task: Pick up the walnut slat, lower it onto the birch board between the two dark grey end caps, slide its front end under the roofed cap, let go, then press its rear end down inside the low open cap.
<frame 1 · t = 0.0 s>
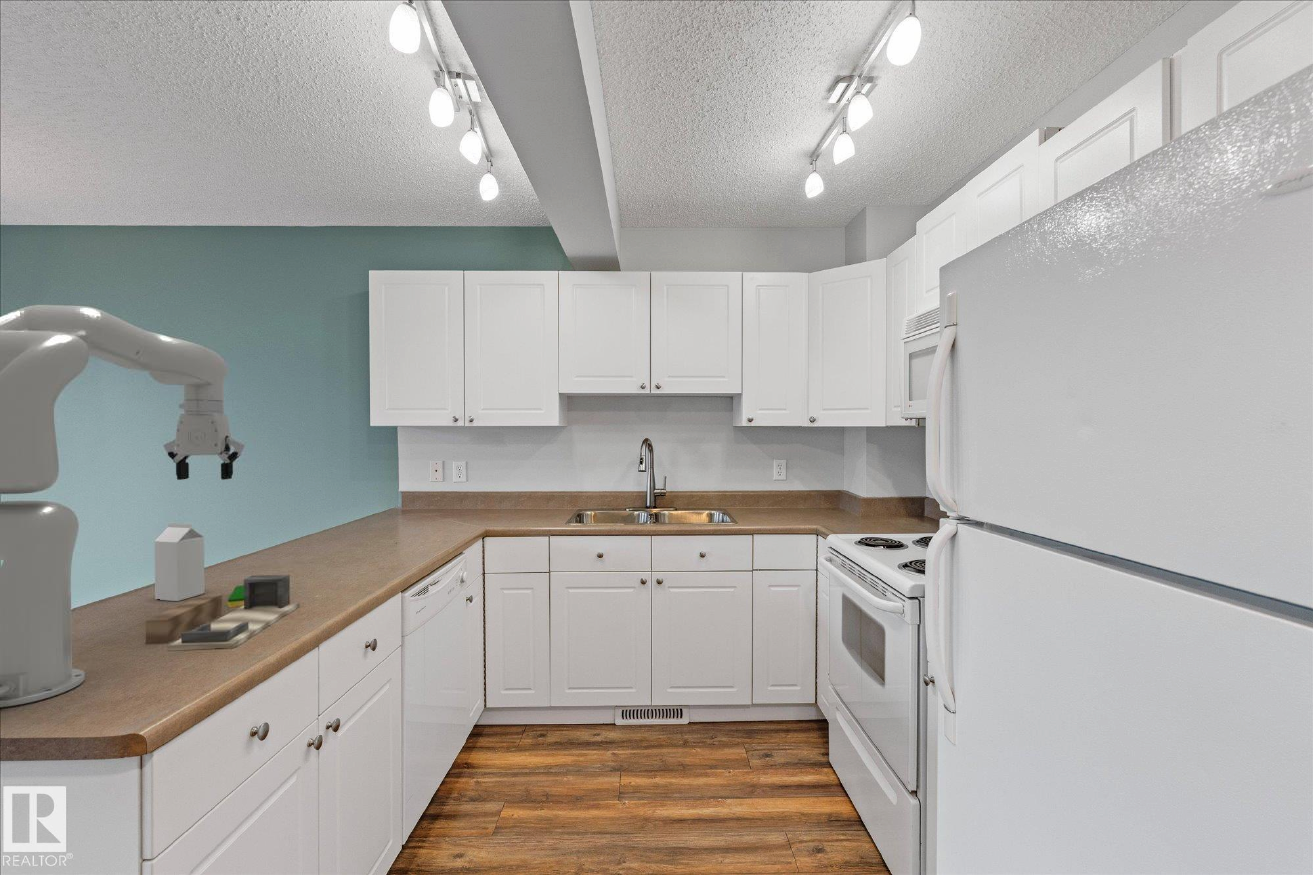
hand: (204, 479, 141), 31 cm above the counter, tool pointing down, fingers open, 9 cm apart
end cap board: (241, 626, 129), on the counter
milk carton: (180, 597, 150), on the counter
walnut slat: (186, 629, 127), on the counter
dish sponge: (249, 600, 149), on the counter
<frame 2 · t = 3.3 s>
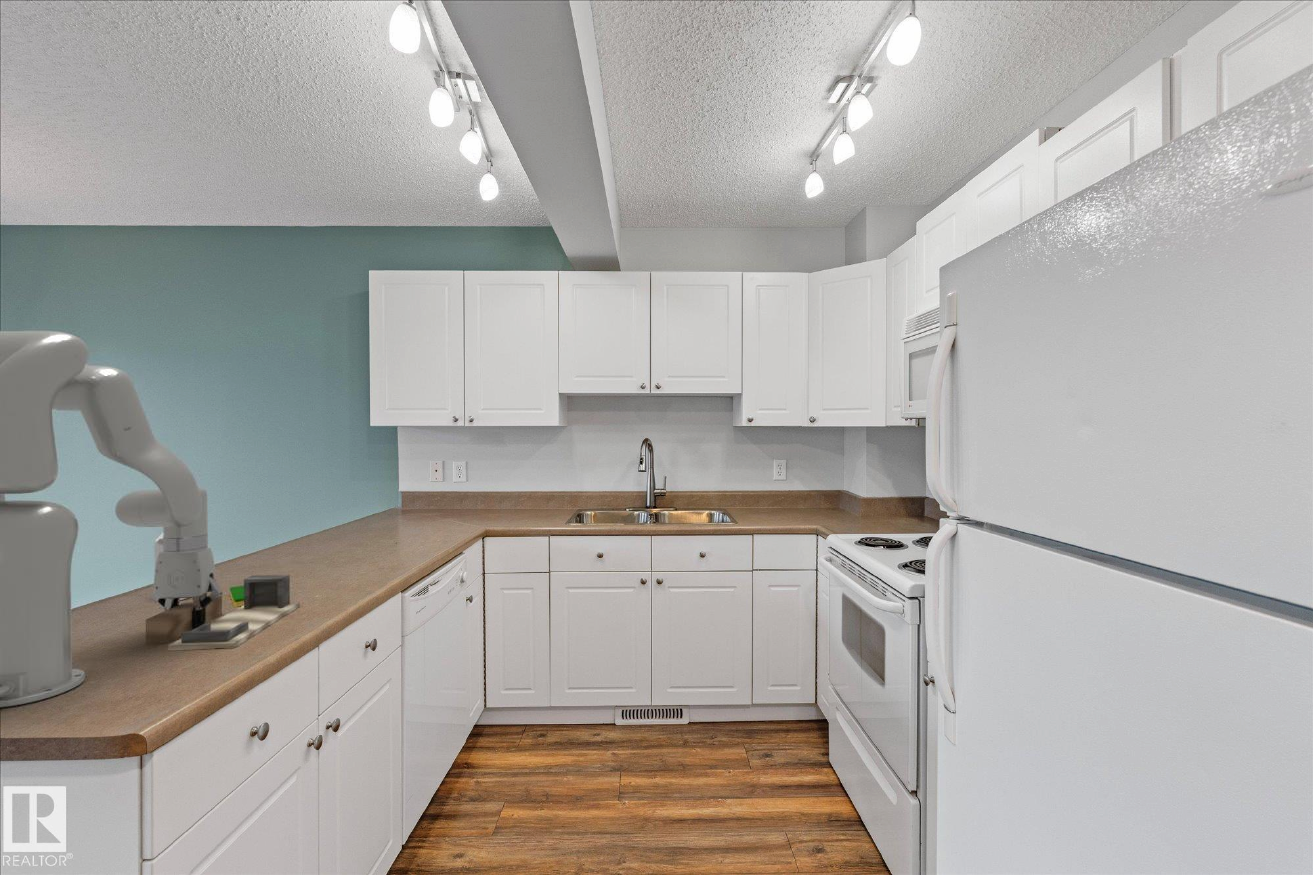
hand: (186, 626, 127), 0 cm above the counter, tool pointing down, fingers closed on walnut slat, 4 cm apart
walnut slat: (186, 628, 127), on the counter, touching gripper
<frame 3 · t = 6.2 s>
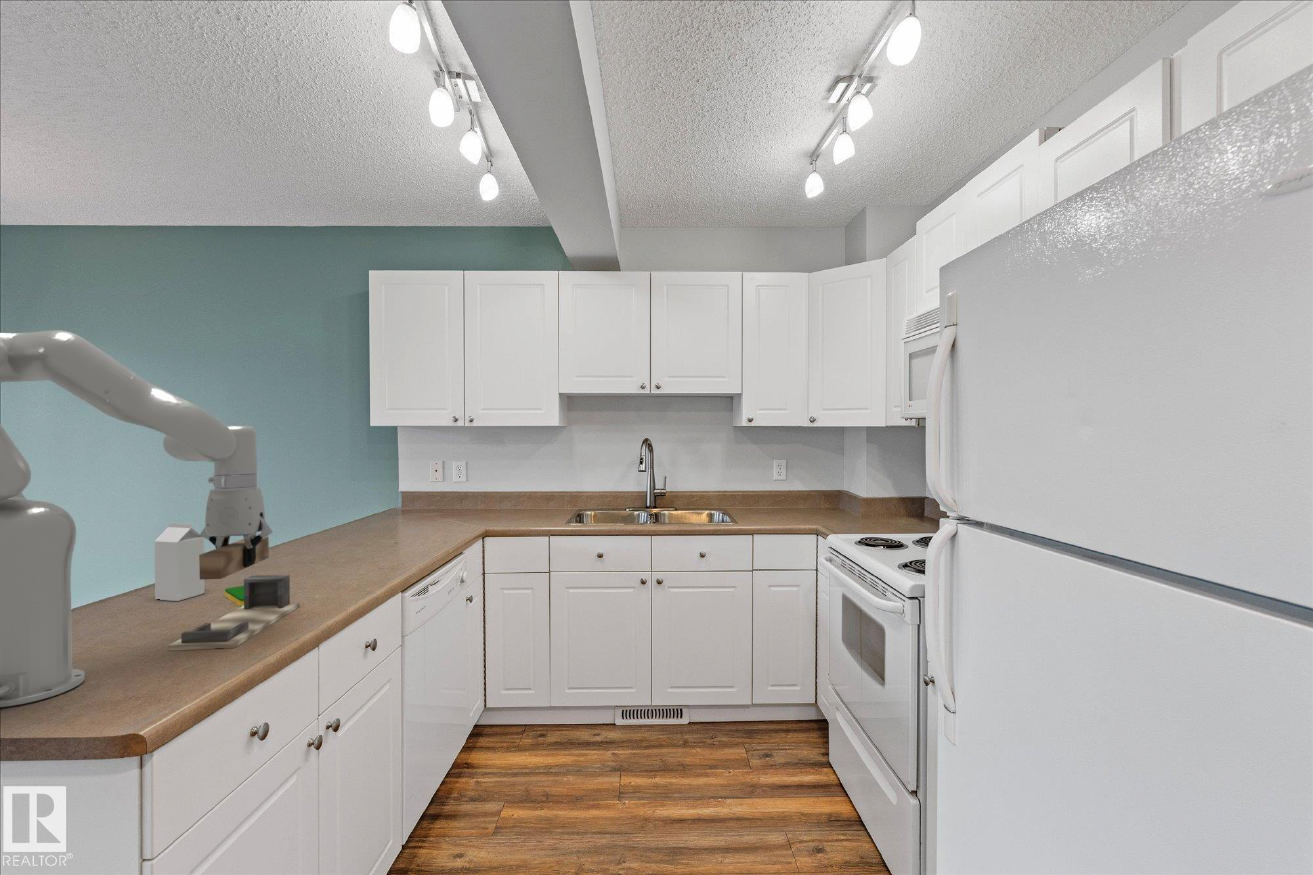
hand: (237, 565, 127), 14 cm above the counter, tool pointing down, fingers closed on walnut slat, 4 cm apart
walnut slat: (236, 567, 127), point 13 cm above the counter, touching gripper
when the fingers open (2 cm above the counter, at t = 9.0 s): walnut slat stays where it is, resting on end cap board.
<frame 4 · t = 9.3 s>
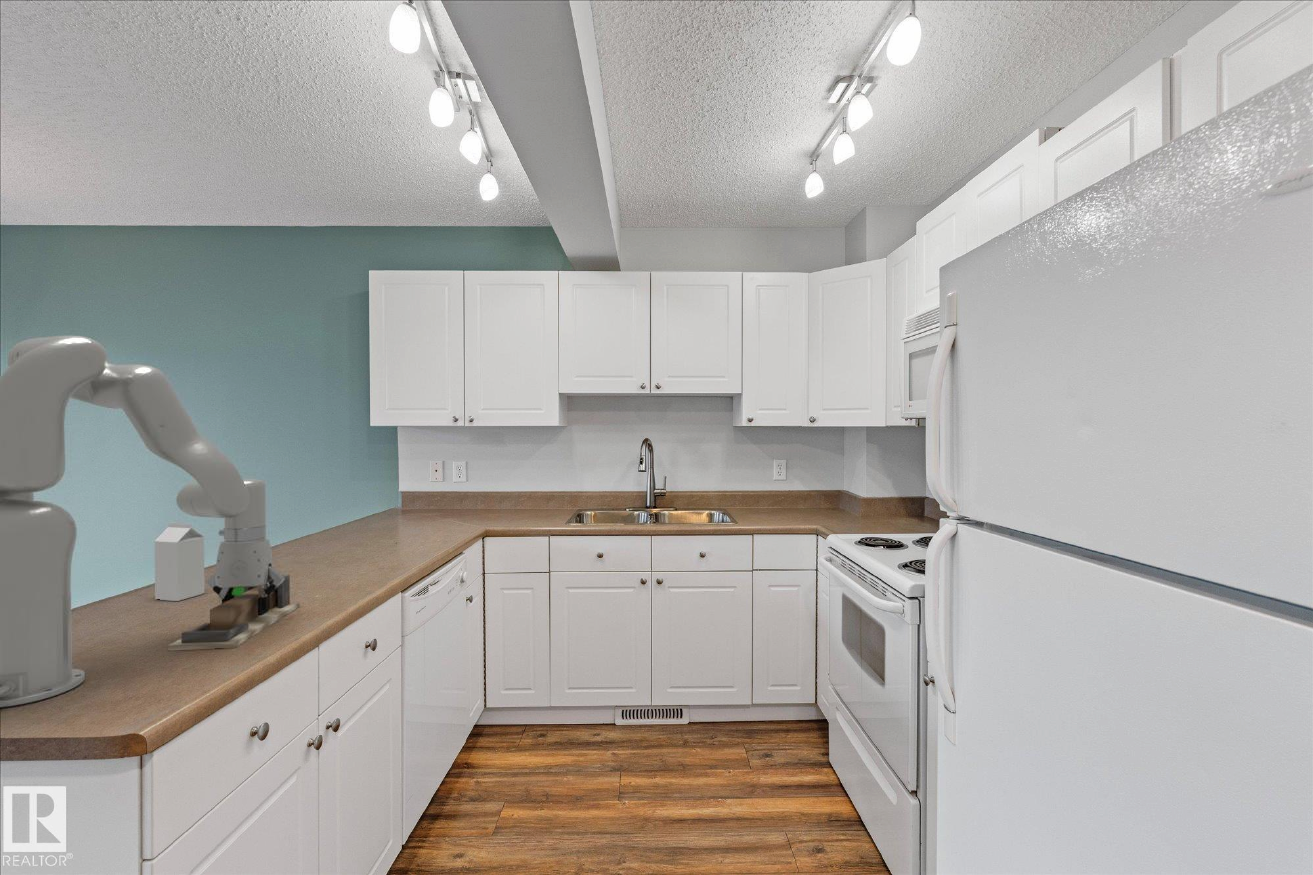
hand: (246, 613, 131), 2 cm above the counter, tool pointing down, fingers open, 6 cm apart
walnut slat: (245, 618, 130), point 1 cm above the counter, touching end cap board
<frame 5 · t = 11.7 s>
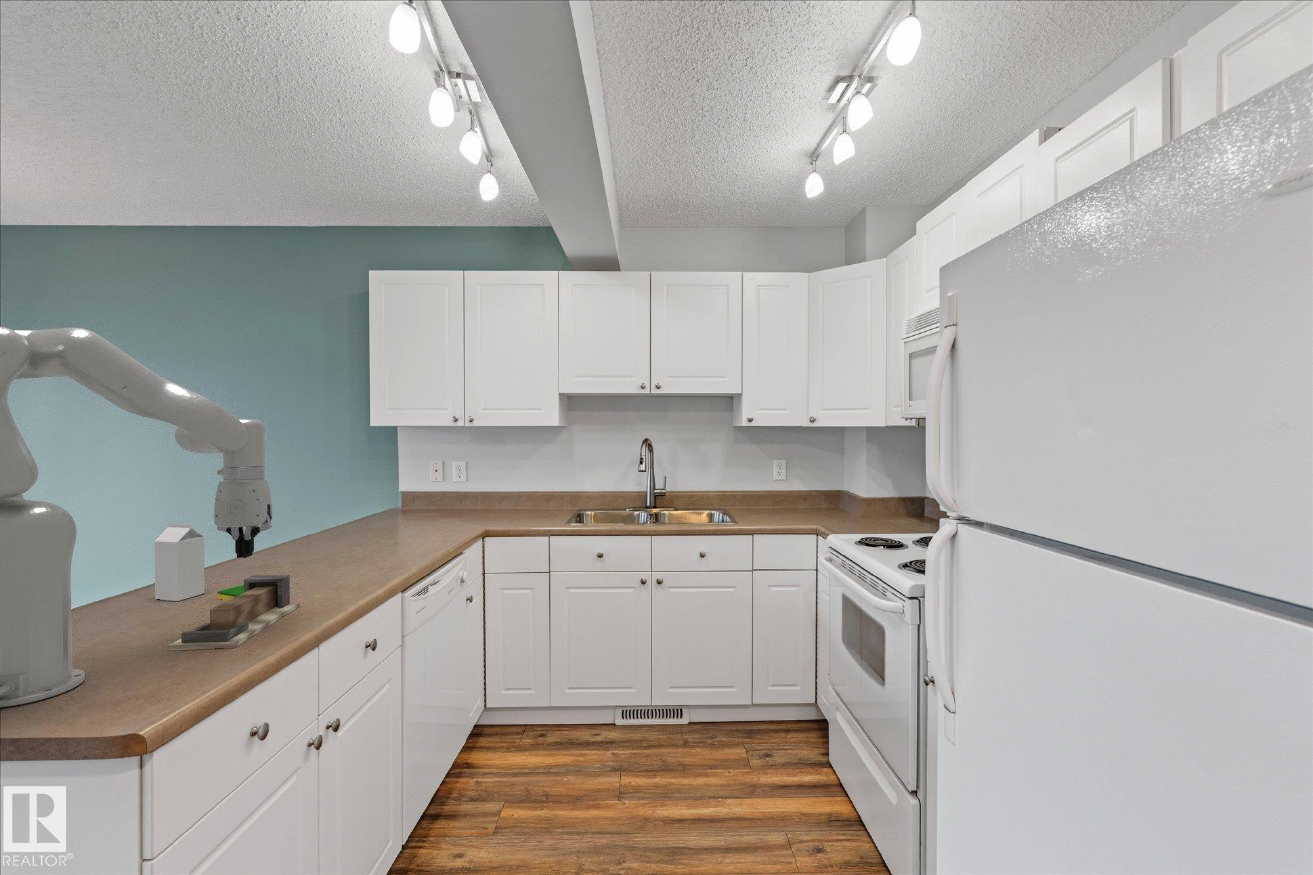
hand: (244, 556, 130), 15 cm above the counter, tool pointing down, fingers closed
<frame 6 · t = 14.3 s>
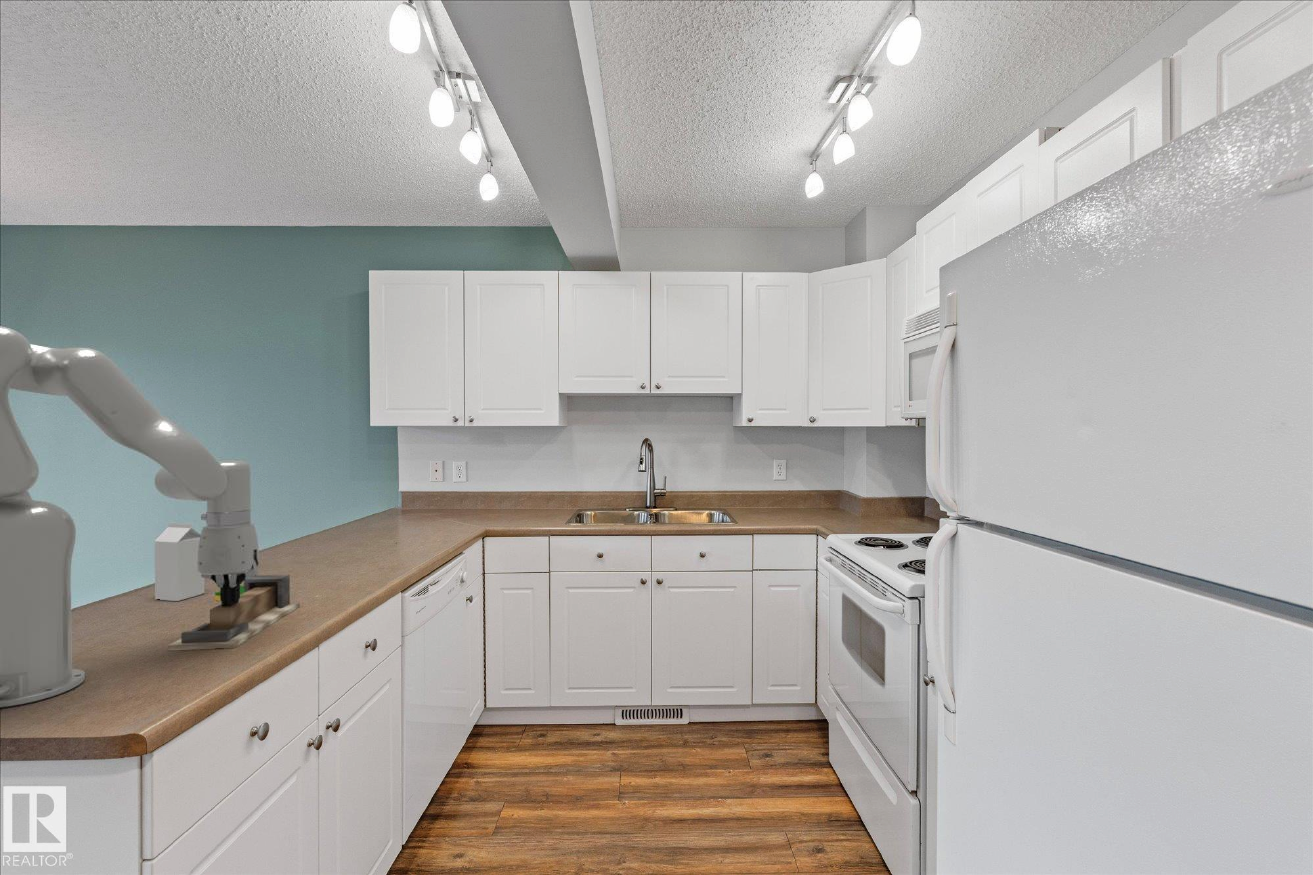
hand: (230, 604, 125), 6 cm above the counter, tool pointing down, fingers closed
walnut slat: (245, 618, 130), point 1 cm above the counter, touching end cap board, gripper
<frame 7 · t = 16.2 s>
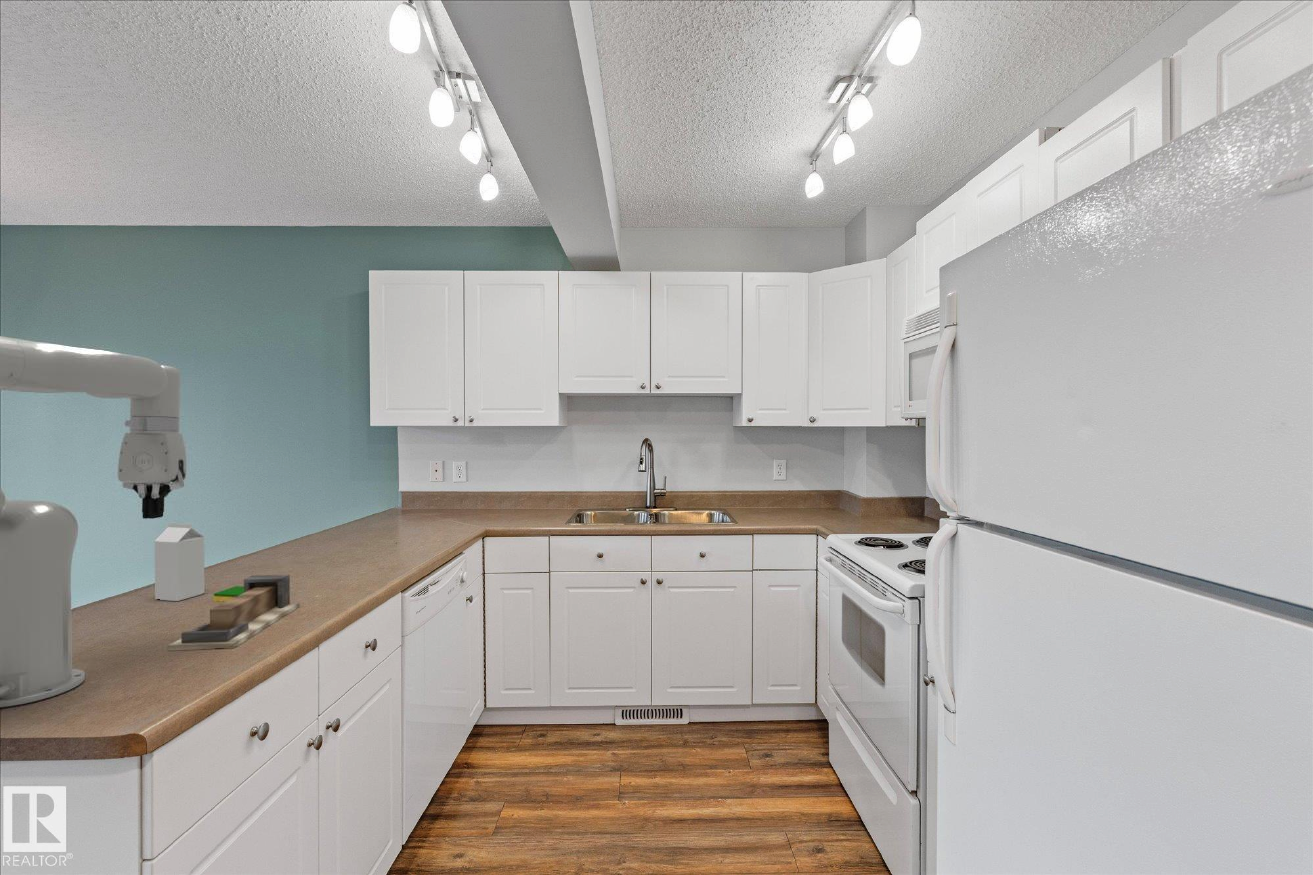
hand: (152, 517, 117), 26 cm above the counter, tool pointing down, fingers closed
walnut slat: (245, 618, 130), point 1 cm above the counter, touching end cap board
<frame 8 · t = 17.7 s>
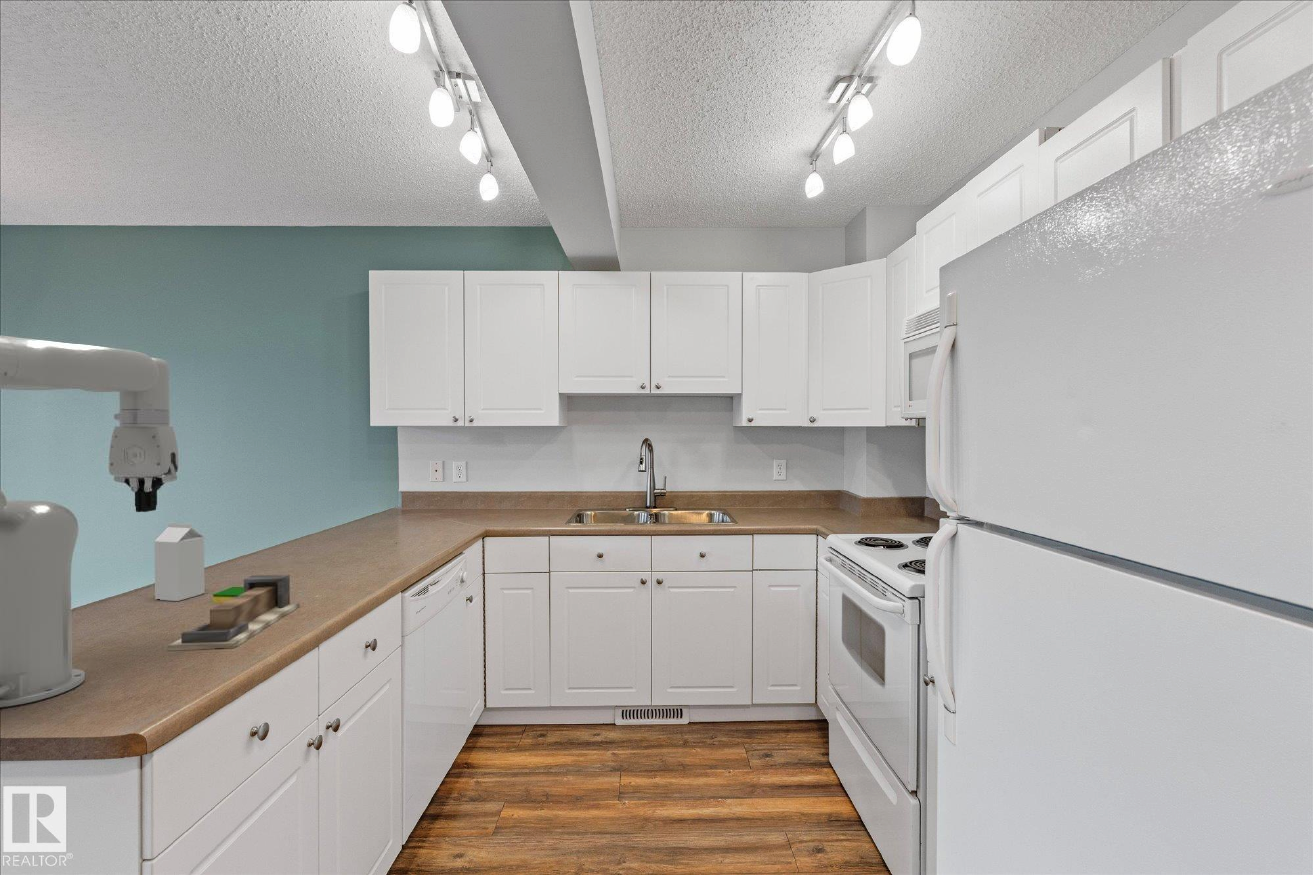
hand: (146, 510, 117), 27 cm above the counter, tool pointing down, fingers closed
at the end: walnut slat 0.1 cm from the target spot on the end cap board, point 1.0 cm above the end cap board's base; the gripper is holding nothing; walnut slat tilted 0° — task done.
